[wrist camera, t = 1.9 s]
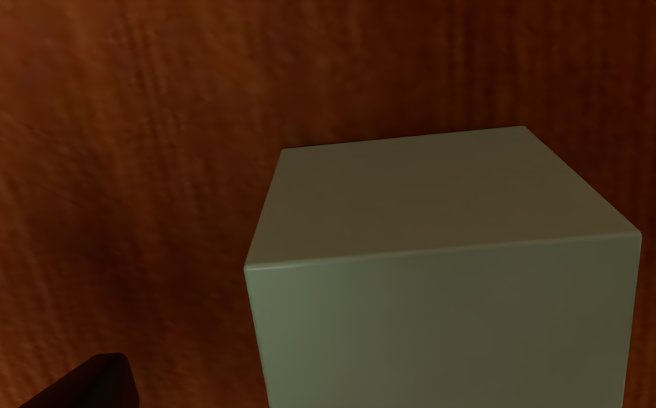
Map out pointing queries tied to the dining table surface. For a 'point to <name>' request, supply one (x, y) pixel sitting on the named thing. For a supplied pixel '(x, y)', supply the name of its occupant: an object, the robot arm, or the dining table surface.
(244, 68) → the dining table surface
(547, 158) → the green block
